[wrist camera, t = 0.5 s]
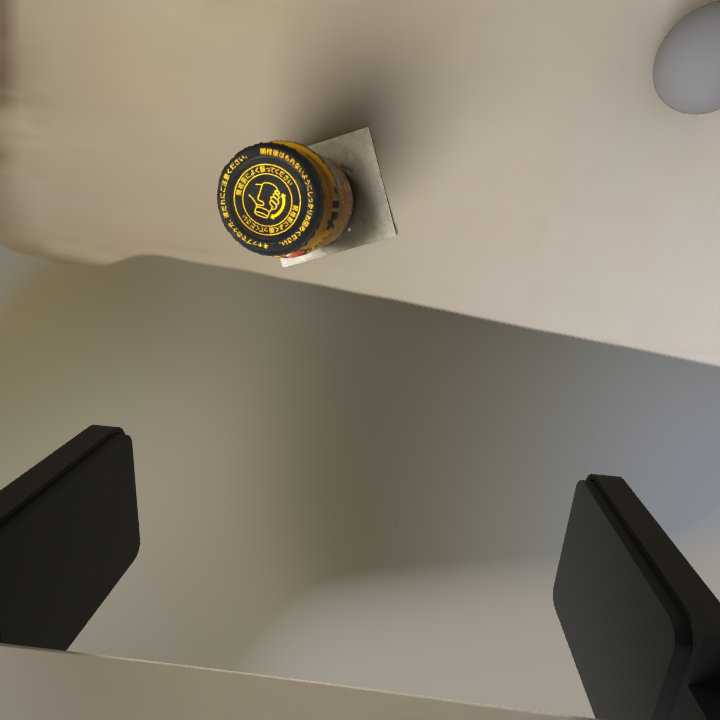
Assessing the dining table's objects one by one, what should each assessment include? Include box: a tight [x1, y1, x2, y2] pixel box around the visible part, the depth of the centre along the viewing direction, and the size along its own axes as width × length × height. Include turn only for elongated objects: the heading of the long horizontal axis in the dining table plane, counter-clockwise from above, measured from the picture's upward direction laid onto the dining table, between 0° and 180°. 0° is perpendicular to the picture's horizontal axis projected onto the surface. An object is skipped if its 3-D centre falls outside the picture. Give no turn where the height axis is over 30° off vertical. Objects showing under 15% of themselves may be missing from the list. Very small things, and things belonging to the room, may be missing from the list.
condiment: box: [217, 127, 396, 267], centre depth 30 cm, size 7×8×12 cm
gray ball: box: [653, 1, 720, 114], centre depth 29 cm, size 6×6×6 cm
